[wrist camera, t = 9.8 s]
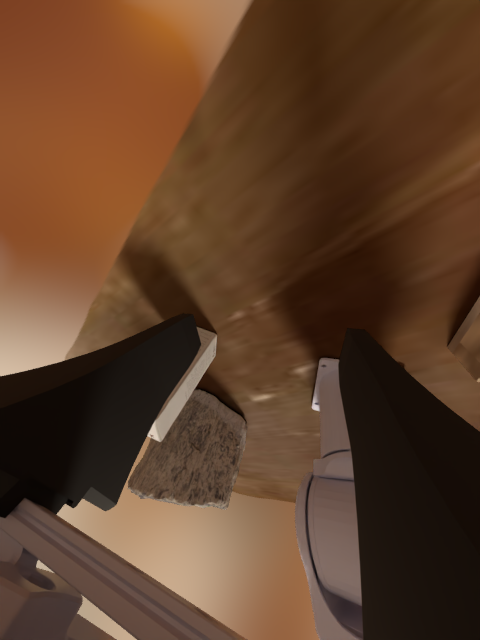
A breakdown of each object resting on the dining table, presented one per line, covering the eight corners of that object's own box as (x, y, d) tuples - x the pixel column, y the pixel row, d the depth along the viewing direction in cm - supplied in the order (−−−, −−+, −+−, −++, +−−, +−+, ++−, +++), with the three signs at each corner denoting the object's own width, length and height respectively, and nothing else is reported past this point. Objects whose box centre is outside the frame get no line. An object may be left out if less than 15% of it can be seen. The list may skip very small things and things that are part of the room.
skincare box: (217, 332, 24) (156, 422, 15) (216, 356, 27) (163, 445, 18) (176, 319, 26) (94, 395, 16) (178, 343, 28) (109, 420, 19)
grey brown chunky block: (232, 451, 44) (202, 546, 32) (168, 414, 44) (115, 495, 33) (270, 423, 32) (245, 555, 21) (182, 373, 33) (108, 476, 21)
